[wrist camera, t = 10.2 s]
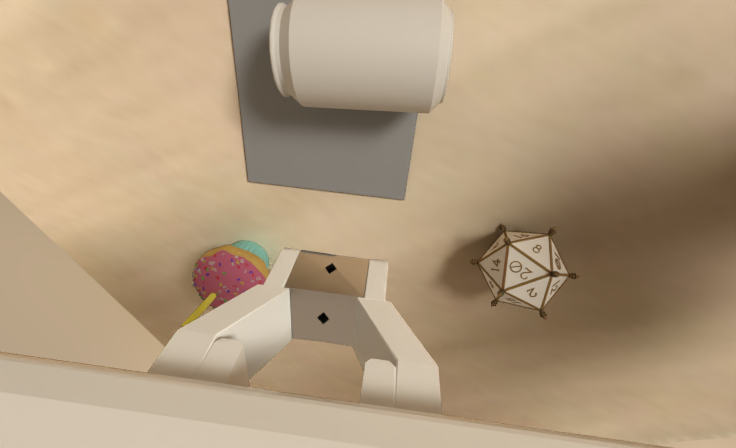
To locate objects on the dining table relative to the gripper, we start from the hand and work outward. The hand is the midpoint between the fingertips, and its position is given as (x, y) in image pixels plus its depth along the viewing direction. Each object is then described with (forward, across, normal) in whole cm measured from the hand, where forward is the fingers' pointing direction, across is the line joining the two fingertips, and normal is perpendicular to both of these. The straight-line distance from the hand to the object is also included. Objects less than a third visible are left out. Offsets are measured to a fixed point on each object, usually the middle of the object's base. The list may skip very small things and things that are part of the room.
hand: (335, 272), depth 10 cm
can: (+20, -4, -4) cm, 21 cm away
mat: (+24, +5, 0) cm, 25 cm away
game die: (+24, -15, +14) cm, 32 cm away
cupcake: (+24, +14, +20) cm, 34 cm away
